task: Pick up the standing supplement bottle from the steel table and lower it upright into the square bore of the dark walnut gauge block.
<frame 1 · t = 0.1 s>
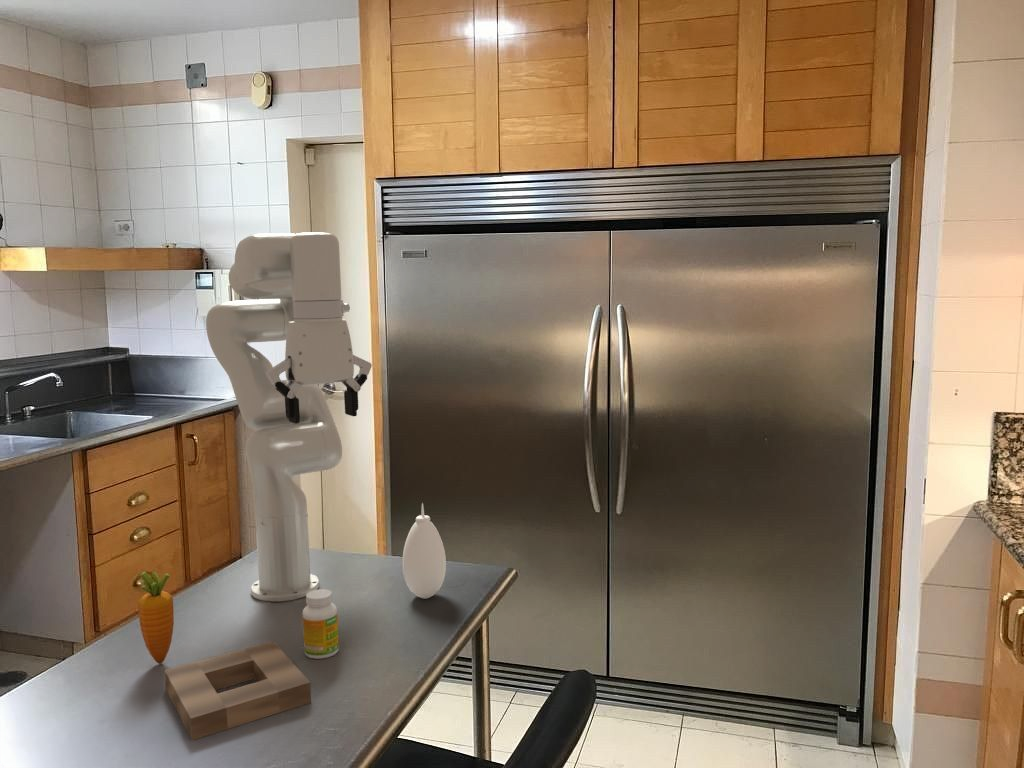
hand: (323, 418, 131), 37 cm above the table, tool pointing down, fingers open, 9 cm apart
white air blower bulb: (425, 597, 151), on the table
carrot: (160, 665, 127), on the table
bore block: (237, 695, 117), on the table
supplement bottle: (321, 653, 130), on the table
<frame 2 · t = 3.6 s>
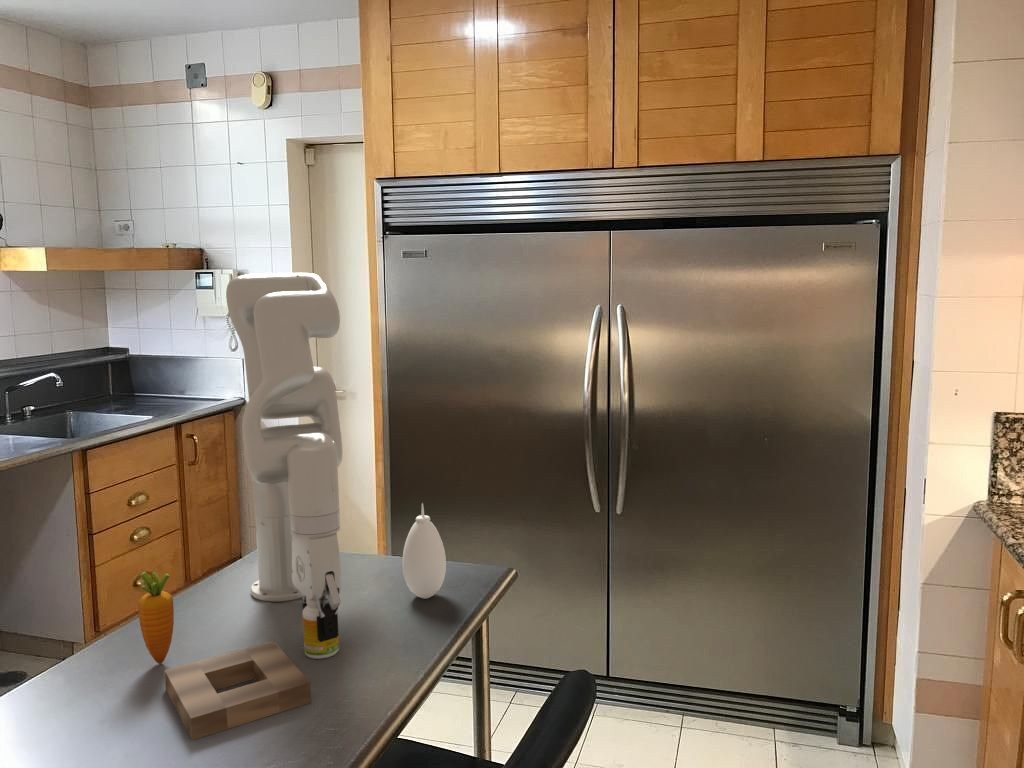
hand: (320, 630, 129), 4 cm above the table, tool pointing down, fingers closed on supplement bottle, 5 cm apart
supplement bottle: (321, 653, 130), on the table, touching gripper
everything else where it was.
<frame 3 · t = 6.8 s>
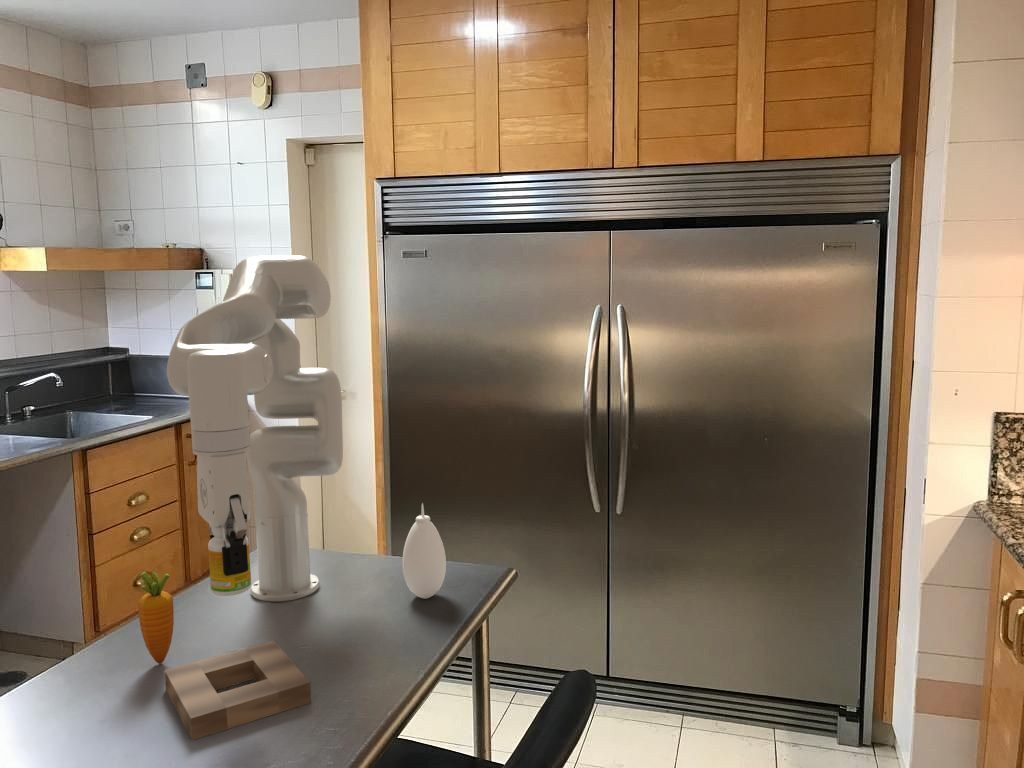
hand: (229, 565, 114), 19 cm above the table, tool pointing down, fingers closed on supplement bottle, 5 cm apart
supplement bottle: (231, 590, 115), point 16 cm above the table, touching gripper
everything else where it was.
when the fingers open (5 cm above the table, at t = 10.3 s): supplement bottle drops 1 cm, resting in bore block.
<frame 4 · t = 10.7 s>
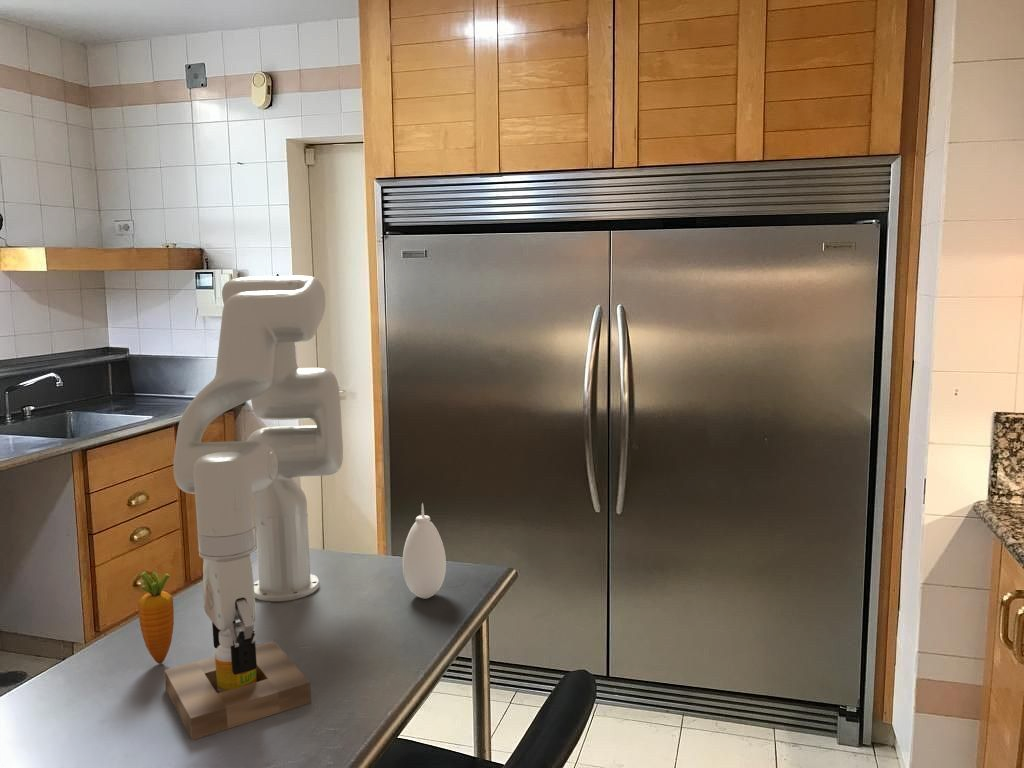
hand: (234, 657, 116), 6 cm above the table, tool pointing down, fingers open, 9 cm apart
supplement bottle: (237, 696, 117), resting in bore block
everything else where it was.
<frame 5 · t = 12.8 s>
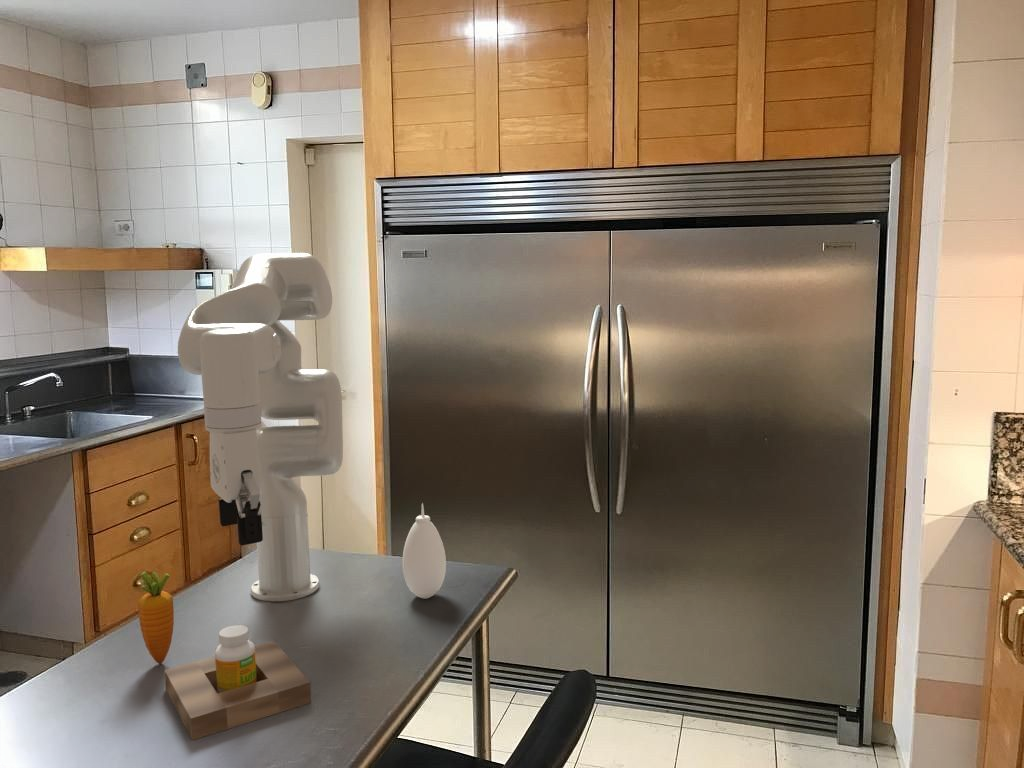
hand: (241, 533, 118), 23 cm above the table, tool pointing down, fingers open, 9 cm apart
nothing on the table moved.
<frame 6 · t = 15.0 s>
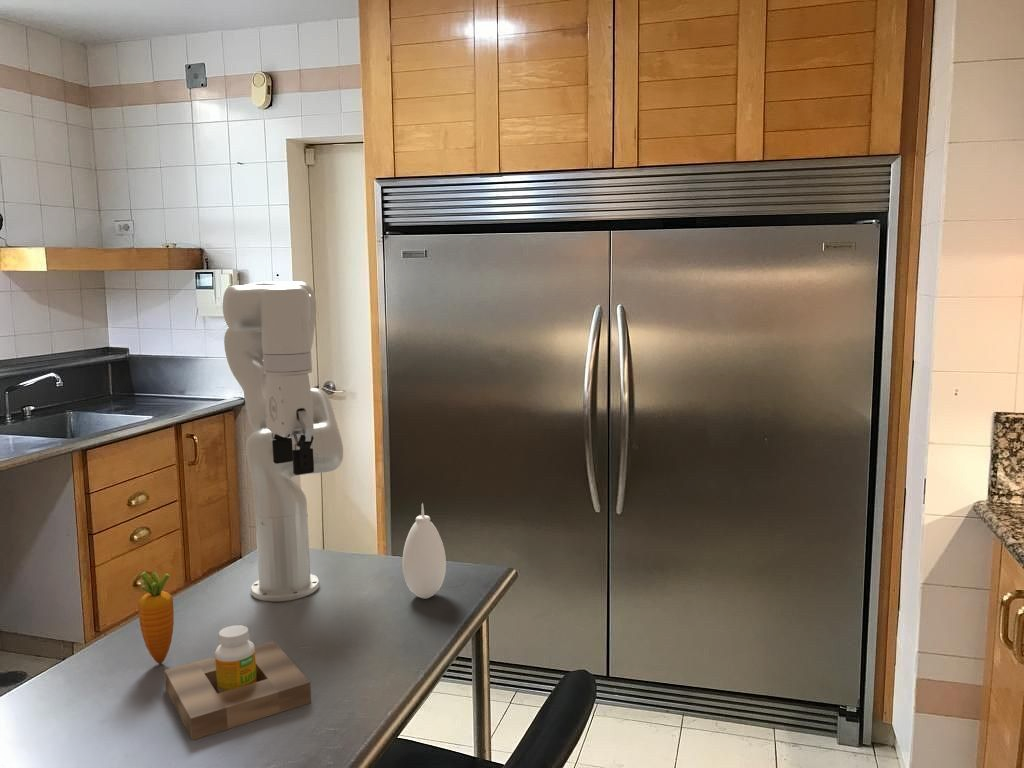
hand: (293, 467, 133), 28 cm above the table, tool pointing down, fingers open, 9 cm apart
nothing on the table moved.
at the end: supplement bottle 0.2 cm off-centre on the bore block, point 0.0 cm above the bore block's base; supplement bottle tilted 0°; the gripper is holding nothing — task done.
